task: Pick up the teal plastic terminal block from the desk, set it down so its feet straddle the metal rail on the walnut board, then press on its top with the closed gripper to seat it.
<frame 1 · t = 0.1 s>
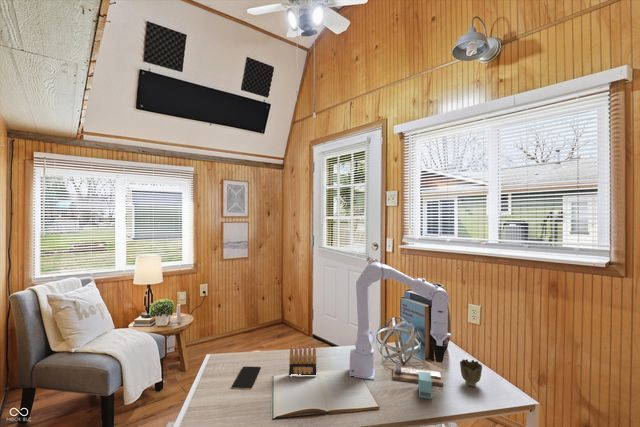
hand: (438, 357, 116), 10 cm above the table, tool pointing down, fingers open, 7 cm apart
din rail: (417, 371, 122), on the mounting board, point 2 cm above the table
smartphone: (247, 379, 120), on the table
ammunition clip: (302, 376, 122), on the table
terminal block: (424, 393, 111), on the table
mounting board: (417, 376, 122), on the table
cup: (470, 385, 116), on the table
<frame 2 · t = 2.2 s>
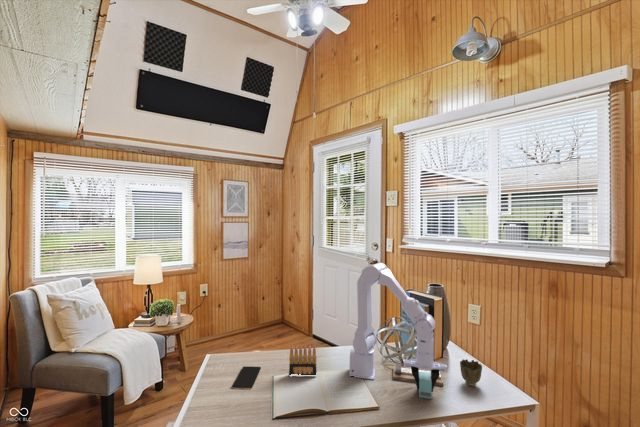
hand: (424, 389, 111), 1 cm above the table, tool pointing down, fingers closed on terminal block, 4 cm apart
terminal block: (424, 393, 111), on the table, touching gripper
everything else where it was.
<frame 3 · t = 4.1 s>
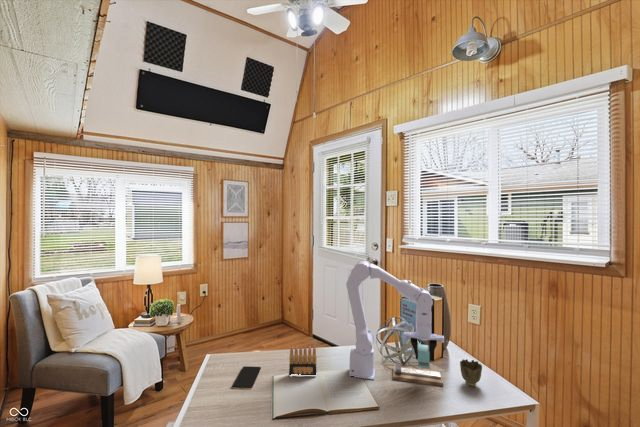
hand: (423, 358, 119), 8 cm above the table, tool pointing down, fingers closed on terminal block, 4 cm apart
terminal block: (423, 363, 118), point 7 cm above the table, touching gripper
everything else where it was.
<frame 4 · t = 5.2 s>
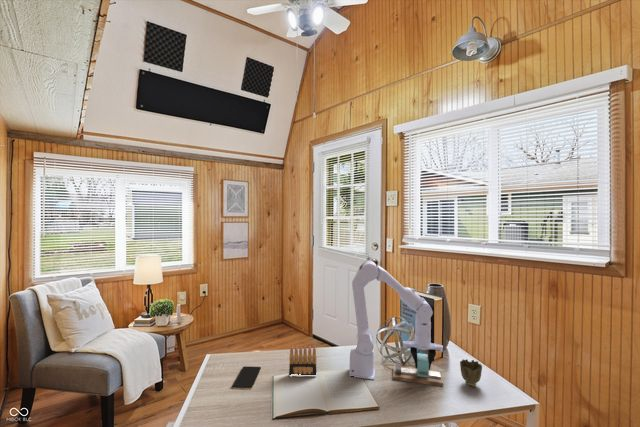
hand: (422, 367, 121), 4 cm above the table, tool pointing down, fingers closed on terminal block, 4 cm apart
terminal block: (422, 372, 121), point 2 cm above the table, touching gripper
everything else where it was.
when the fingers open (4 cm above the table, at t = 6.0 s): terminal block stays where it is, resting on mounting board.
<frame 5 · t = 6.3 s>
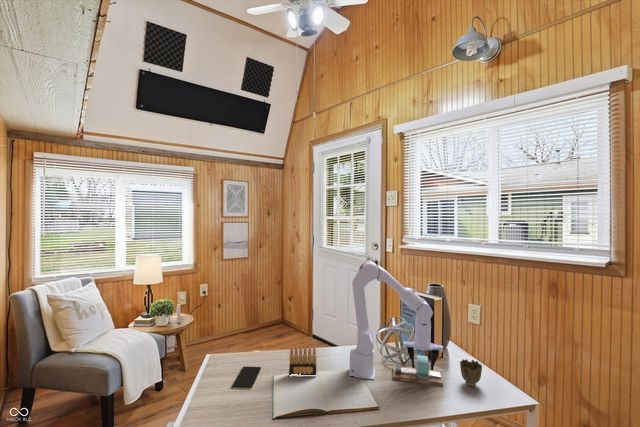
hand: (422, 368, 121), 4 cm above the table, tool pointing down, fingers open, 6 cm apart
terminal block: (422, 374, 121), point 1 cm above the table, touching mounting board
everything else where it was.
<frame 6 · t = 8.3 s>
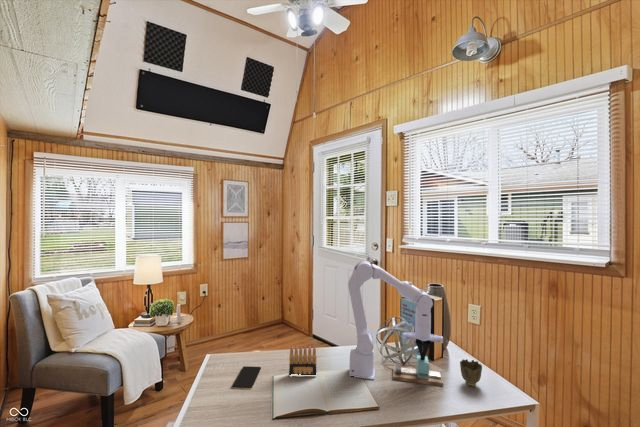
hand: (422, 359, 121), 7 cm above the table, tool pointing down, fingers closed, pressing on terminal block
terminal block: (422, 374, 121), point 1 cm above the table, touching gripper, mounting board
everything else where it was.
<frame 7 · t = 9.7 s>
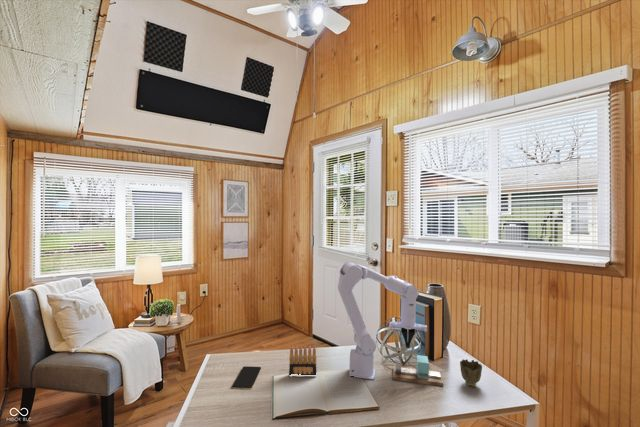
hand: (407, 346, 127), 9 cm above the table, tool pointing down, fingers closed
terminal block: (422, 374, 121), point 1 cm above the table, touching mounting board
everything else where it was.
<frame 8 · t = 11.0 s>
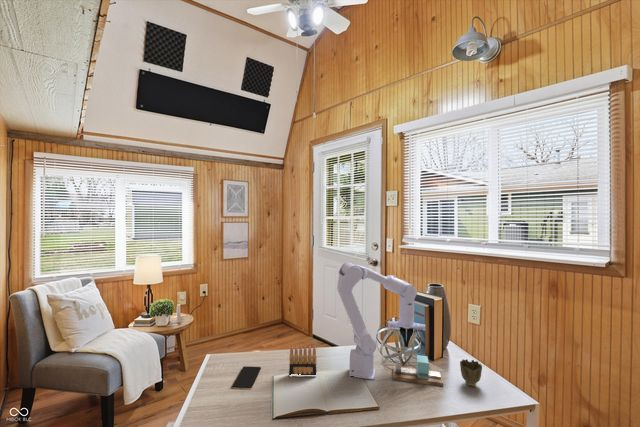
hand: (406, 346, 128), 9 cm above the table, tool pointing down, fingers closed
nothing on the table moved.
at the end: terminal block 0.2 cm from the target spot on the mounting board, point 1.2 cm above the mounting board's base; terminal block tilted 0°; the gripper is holding nothing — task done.
